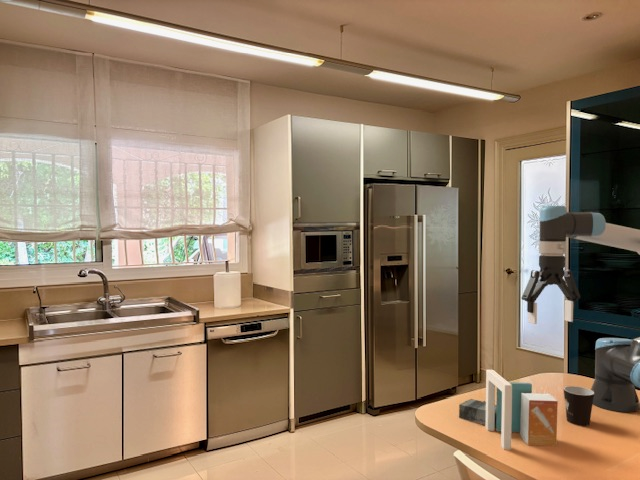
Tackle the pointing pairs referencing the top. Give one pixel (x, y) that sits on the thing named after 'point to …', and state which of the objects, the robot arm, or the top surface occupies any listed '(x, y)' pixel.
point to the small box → (538, 419)
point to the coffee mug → (578, 405)
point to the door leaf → (516, 405)
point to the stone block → (474, 411)
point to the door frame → (506, 388)
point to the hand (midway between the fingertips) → (550, 322)
